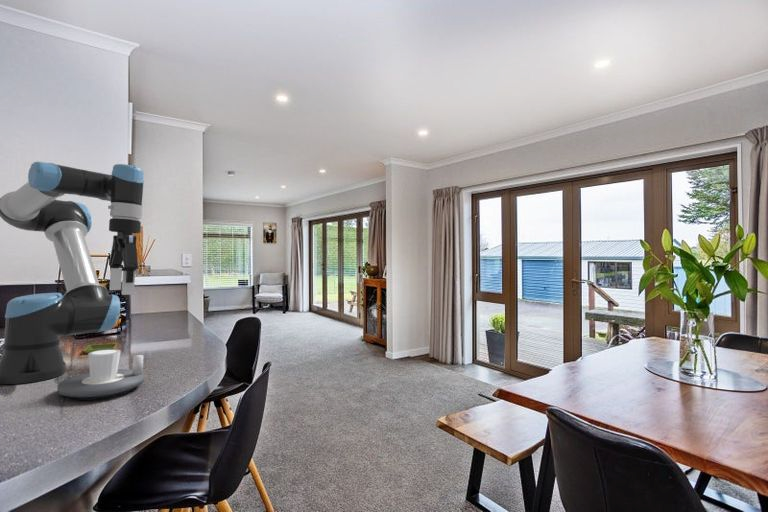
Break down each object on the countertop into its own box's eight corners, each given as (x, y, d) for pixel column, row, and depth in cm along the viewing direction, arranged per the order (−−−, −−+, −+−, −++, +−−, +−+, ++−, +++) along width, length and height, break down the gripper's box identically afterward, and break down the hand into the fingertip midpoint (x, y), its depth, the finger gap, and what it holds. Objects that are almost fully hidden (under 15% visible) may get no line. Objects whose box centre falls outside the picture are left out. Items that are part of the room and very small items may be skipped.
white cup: (106, 383, 95) (108, 355, 95) (79, 382, 95) (81, 354, 95) (125, 375, 102) (127, 349, 102) (100, 374, 102) (102, 348, 102)
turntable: (57, 381, 99) (59, 357, 99) (138, 371, 111) (139, 349, 111) (57, 402, 85) (59, 374, 86) (149, 387, 97) (150, 362, 97)
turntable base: (56, 397, 92) (56, 392, 92) (100, 381, 105) (100, 376, 105) (106, 401, 91) (106, 395, 91) (144, 384, 104) (144, 379, 104)
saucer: (82, 356, 132) (83, 350, 132) (89, 350, 139) (89, 344, 139) (113, 354, 136) (113, 348, 136) (117, 348, 143) (117, 343, 143)
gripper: (99, 218, 114) (95, 288, 114) (121, 215, 97) (116, 297, 97) (128, 221, 120) (124, 287, 120) (154, 219, 103) (149, 296, 103)
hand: (121, 292), depth 108 cm, fingers open, 13 cm apart
